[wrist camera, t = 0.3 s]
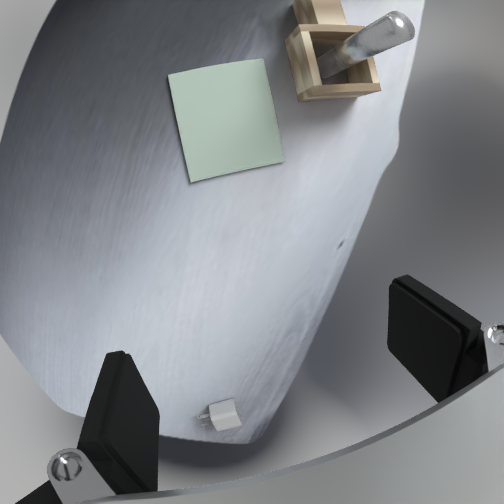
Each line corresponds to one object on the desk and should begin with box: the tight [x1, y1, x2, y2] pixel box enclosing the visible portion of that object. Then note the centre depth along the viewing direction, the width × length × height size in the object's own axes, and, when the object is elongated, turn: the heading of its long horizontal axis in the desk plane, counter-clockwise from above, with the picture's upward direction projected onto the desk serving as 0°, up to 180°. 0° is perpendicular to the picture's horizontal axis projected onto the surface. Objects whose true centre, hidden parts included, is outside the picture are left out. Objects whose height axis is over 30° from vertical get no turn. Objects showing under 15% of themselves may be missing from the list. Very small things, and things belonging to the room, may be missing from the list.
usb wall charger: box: [197, 398, 242, 431], centre depth 47 cm, size 4×7×4 cm, turn 104°
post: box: [316, 11, 415, 78], centre depth 27 cm, size 3×3×18 cm
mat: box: [168, 58, 285, 182], centre depth 35 cm, size 14×12×1 cm
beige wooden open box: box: [284, 0, 381, 102], centre depth 32 cm, size 15×9×6 cm, turn 11°
